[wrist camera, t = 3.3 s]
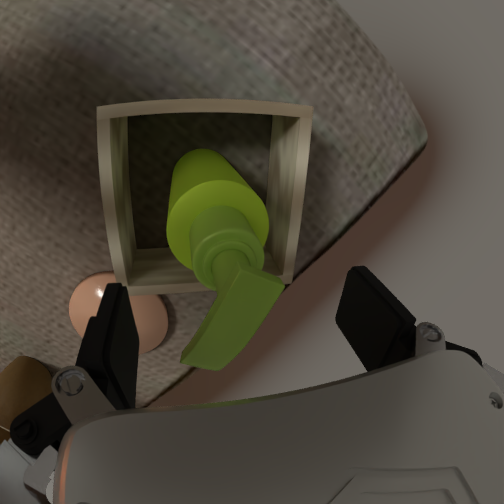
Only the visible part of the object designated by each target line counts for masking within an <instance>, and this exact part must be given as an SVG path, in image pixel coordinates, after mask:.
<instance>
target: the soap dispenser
mask: <svg viewBox="0 0 504 504" xmlns="http://www.w3.org/2000/svg"><path fill="white" fill-rule="evenodd" d="M268 232H269V218H268V213H267V210H266V207H265V205H264V203H263V202H262V200H261V199H260V198H259V196H258V195H257V194H256V193H255V192H254V191H253V189H252V188H251V187H250V186H249V185H248V184H247V183H246V181H245V180H244V179H243V178H242V177H241V176H240V175H239V174H238V172H237V171H236V170H235V169H234V168H233V167H232V166H231V165H230V164H229V162H228V161H227V160H226V159H225V158H224V157H223V156H222V155H221V154H219V153H218V152H216V151H213V150H210V149H196V150H192V151H190V152H188V153H186V154H185V155H183V156H182V157H181V158H180V159H179V161H178V162H177V163H176V165H175V167H174V170H173V174H172V182H171V190H170V198H169V207H168V217H167V228H166V233H167V240H168V244H169V246H170V249H171V251H172V252H173V254H174V256H175V257H176V258H177V259H178V260H179V261H180V262H181V263H182V264H183V265H184V266H186V267H187V268H189V269H191V270H193V272H194V274H195V276H196V278H197V279H198V281H199V282H200V283H201V284H202V285H204V286H205V287H207V288H209V289H211V290H214V291H216V292H217V298H216V300H215V301H214V303H213V305H212V307H211V308H210V310H209V312H208V314H207V315H206V317H205V319H204V321H203V322H202V324H201V326H200V327H199V329H198V331H197V332H196V334H195V335H194V337H193V338H192V340H191V341H190V342H189V344H188V345H187V346H186V347H185V349H184V350H183V351H182V355H181V360H180V363H182V364H186V365H190V366H195V367H199V368H204V369H209V370H215V371H219V370H221V369H222V368H223V367H225V366H226V365H227V364H228V363H229V362H230V361H232V360H233V359H234V358H235V357H236V356H237V355H238V354H239V353H240V352H241V350H242V349H243V348H244V347H245V346H246V344H247V343H248V342H249V341H250V339H251V338H252V337H253V335H254V334H255V332H256V331H257V330H258V328H259V327H260V325H261V324H262V322H263V321H264V319H265V318H266V316H267V315H268V313H269V312H270V310H271V309H272V307H273V305H274V304H275V302H276V301H277V299H278V297H279V296H280V294H281V292H282V291H283V289H284V288H285V285H284V284H283V282H282V280H281V278H279V277H277V276H274V275H272V274H269V273H266V272H264V271H261V270H262V268H263V265H264V250H263V247H264V245H265V242H266V240H267V236H268Z"/></svg>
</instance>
